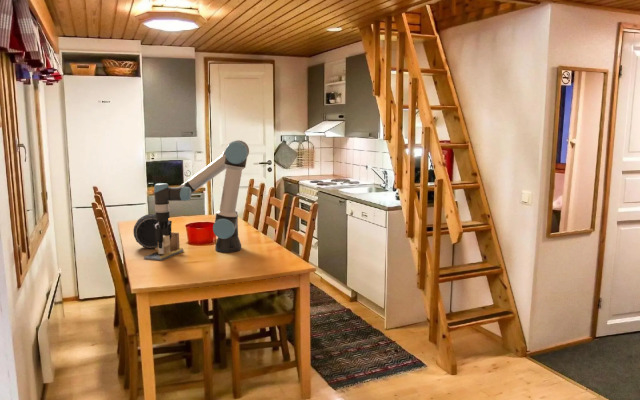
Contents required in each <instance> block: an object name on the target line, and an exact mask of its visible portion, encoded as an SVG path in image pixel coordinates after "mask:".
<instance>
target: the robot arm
mask: <svg viewBox="0 0 640 400" xmlns="http://www.w3.org/2000/svg"><path fill="white" fill-rule="evenodd" d="M249 155H250V148H249V146H248V144H247V143H246V142H245V141H243V140H234V141H231V142H229V143H228V144H227V146H226V148H225V149H224V151H222V154H221V155H220V156H219V157H217V158H215V160H213V161H211V162H210V163H209V164H208V165H207V166H205V167H204V168H202V169H201V170H199V171H198V172H197V173H195V174H194V175H193V176H191V177H190V178H188V179H187V180H185V182H184V183H181V184H180V185H179V186H175V187H174V186H169V184H168V183H163V182H158V183H155V184H154V187H153V189H154V190H153V191H154V192H153V194H154V211H155V213H154V214H155V217H156V219H157V224H156V225H154V229H155V241H156V242H158V244H159V254H164V242H163V232H164V235H167V236H170V238H171V237H172V235H171V232H172V223H173V222H172V220H169V219H170V218H171V217H170V216H171V215H170V214H171V213H170V202H174V201H175V202H182V201H183V202H185V201H186V202H187V201H191V199H192V194H193V193H195V192H196V191H197V190H199V189H200V188H201V187H203V186H204V185H206V184H207V183H208V182H210V181H211V180H212V179H214V178H216V176H218V175H220V174H221V173H222V172H224V171H225V175H224V179H223V181H224V182H223V187H222V193H221V201H220V205H219V209H218V210H217V211H216V213H215V218H214V223H213V226H212V230H213V233H214V235H215V236H216V237H217V239H216V242H215V247H214V249H215V251H216V252H218V253H235V252H239V251H240V250H242V244H241V243H242V242H241V240H240V237H239V223H238V222H239V214H238V211H236V210H237V209H236V208H237V202H238V197H239V190H240V184H241V180H242V179H241V178H242V173H243V170H244V169H245V168H246V166H247V160H248V157H249ZM160 228H162V229H160ZM170 240H171V239H170Z"/></svg>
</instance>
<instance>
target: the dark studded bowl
mask: <svg viewBox="0 0 640 400" xmlns="http://www.w3.org/2000/svg"><path fill="white" fill-rule="evenodd" d="M156 224H157V219H156V217H155V213H151V214H145V215H143V216H141V217H140V218H139V219H137V221H136V222H135V223H134V226H133V236H134V239H135V241H136V242H137V243H138V244H139V245H140V246H142V247H143V248H147V249H155V248H156V247H158V242H156V241H155V229H154V225H156ZM160 229H162V228H160ZM163 235H164V232H163Z"/></svg>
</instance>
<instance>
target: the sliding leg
mask: <svg viewBox="0 0 640 400" xmlns="http://www.w3.org/2000/svg"><path fill="white" fill-rule="evenodd" d="M163 242H164V254H162V255H165V254H167V253H170V235H169V236H167V235H163ZM154 249H155V250H156V252H158V254H159V244H158V247H155V248H154Z"/></svg>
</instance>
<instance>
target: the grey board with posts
mask: <svg viewBox="0 0 640 400" xmlns="http://www.w3.org/2000/svg"><path fill="white" fill-rule="evenodd" d="M171 235H172V237H171V238H170V239H171V240H170V253H167V254H165V255H162V254H158V252H157V251H155V252H153V253H151V254H148V255H145V256H144V257H143V260H150V261H159V262H162V261H165V260H167V259H169V258H171V257H174V256H177V255H179V254H181V253H182V252H183V253H184V248H183V247H180V233H179V232H174V231H173V232H172V231H171Z"/></svg>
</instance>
